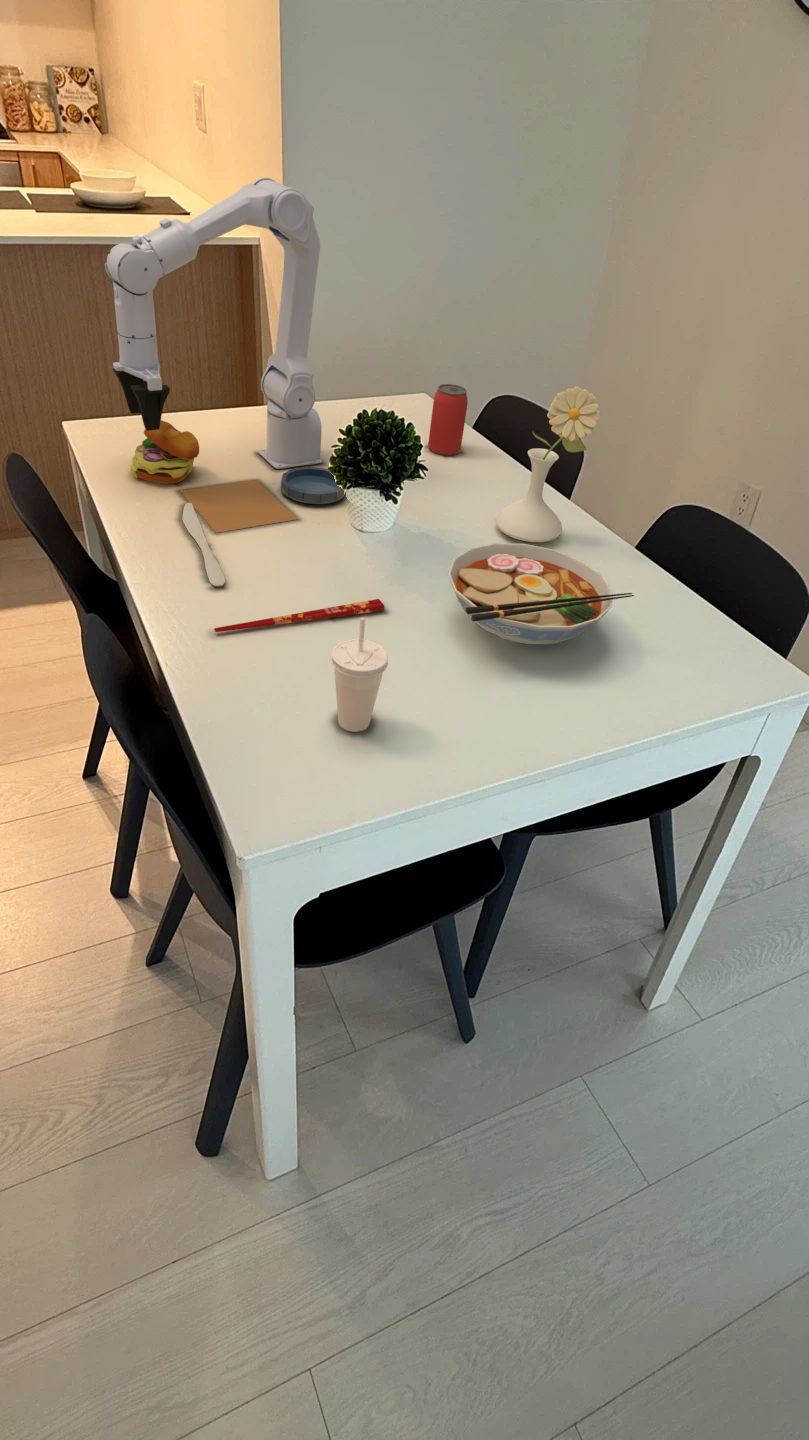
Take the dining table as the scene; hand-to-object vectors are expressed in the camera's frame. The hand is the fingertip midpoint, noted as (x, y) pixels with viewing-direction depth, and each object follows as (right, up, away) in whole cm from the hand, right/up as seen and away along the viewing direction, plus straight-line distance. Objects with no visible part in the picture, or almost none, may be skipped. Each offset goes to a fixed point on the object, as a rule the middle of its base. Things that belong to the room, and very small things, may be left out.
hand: (144, 420), depth 142 cm
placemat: (+15, -13, +2) cm, 20 cm away
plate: (+27, -10, +8) cm, 30 cm away
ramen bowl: (+59, -36, -19) cm, 72 cm away
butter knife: (+11, -22, -10) cm, 27 cm away
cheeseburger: (+1, -7, +8) cm, 11 cm away
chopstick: (+29, -36, -24) cm, 51 cm away
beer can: (+50, +5, +31) cm, 59 cm away
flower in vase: (+64, -18, +5) cm, 67 cm away
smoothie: (+37, -49, -39) cm, 73 cm away
